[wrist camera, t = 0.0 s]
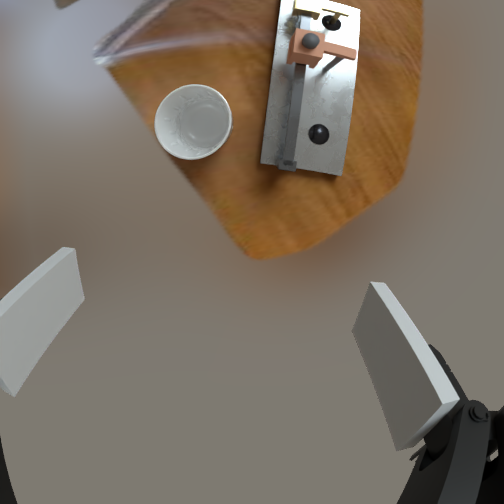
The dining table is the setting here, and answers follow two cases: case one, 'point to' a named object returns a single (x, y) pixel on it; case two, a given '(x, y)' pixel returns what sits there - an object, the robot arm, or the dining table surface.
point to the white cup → (193, 122)
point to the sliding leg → (316, 49)
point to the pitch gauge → (311, 91)
